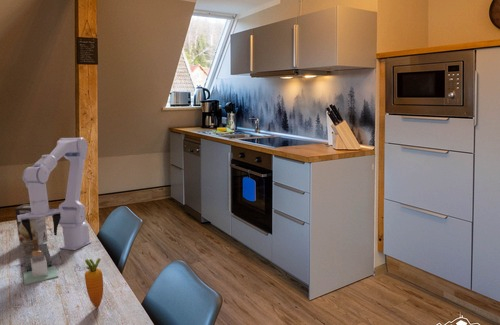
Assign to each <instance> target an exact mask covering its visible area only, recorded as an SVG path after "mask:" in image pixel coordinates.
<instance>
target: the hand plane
mask: <svg viewBox="0 0 500 325" xmlns="http://www.w3.org/2000/svg"><path fill="white" fill-rule="evenodd" d="M32 241H33V246H25V247H23V252H24V260H25V269H26V272H29V271H32V266H31V259H32V256H37V255H42V254H43V255H44V256H45V258H46V261H47V267H52V266H53V265H52V264H53V263H52V258H51V254H50V250H49V248H48V247H49V246H48V243H46V242H44V243H43V244H40V245H38V241H37V236H36V237H33V240H32Z"/></svg>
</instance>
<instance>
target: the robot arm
mask: <svg viewBox="0 0 500 325" xmlns="http://www.w3.org/2000/svg"><path fill="white" fill-rule="evenodd" d="M88 147H89V145H88V142H87V140H86V138H85V137H83V136H81V137H61V138H59V140H57V141H56V146H55V147H54V148H53V150H52V151H51V152H50V153H49V154H42V155H41V158H39V159H38V160H37V161H36V162H35V163H34V164H33V165H32V166H28V167H26V168H25V169H24V170H23V173H22V176H21V179H22V181H23V182H24V184H25V187H26V189H27V191H28V199H29V204H30V206H31V212H30V213H26V214H22V215H17V218H18V222H21V221H22V225H23V226H24V227H25V229H26V230H27V232H28V234H29V236H30V239H31V240H33V236H32V232H31V226H30V219H36V218H42V217H45V218H46V217H52V224H53V235H54V236H58V227H59V226H60V227H61V228H62V236H63V245H61V246H59V249H61V250H69V251H76V250H79V249H81V248H83V247H84V246H86V245H89V244H90V243H92V240H91V239H90V231H89V227H88V226H89V225H88V224H87V223H86V222H85V220H86V217H87V216H86V206H85V205H84V204H83V203H82V202H81V201H80V200H81V192H82V191H81V190H82V184H83V176H84V167H85V161H86V159H87V156H88V149H89V148H88ZM62 158H65V159H66V160H68V162H69V164H70V165H69V170H68V179H67V183H66V184H67V186H66V192H65V198H64V199H65V200H64V201H63V202H61V203H60V204H59V205H58V208H50V206H49V198H48V190H47V184H46V183H47V182H48V180H49V177H50V174H51V173H52V171H53V170H54V169H55V168H56V167H57V166H58V161H59V160H60V159H62Z"/></svg>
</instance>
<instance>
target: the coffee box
mask: <svg viewBox="0 0 500 325" xmlns="http://www.w3.org/2000/svg"><path fill="white" fill-rule="evenodd" d="M14 212H15V219H16V227H17V237H18V243H19V246H28V247H30V246H33V241H32V240H31V239H30V236H29V234H28V232H27V230H26V229H25V227H24V226H23V225H22V221H21V222H18V218H17V215H22V214H26V213H30V212H31V206H30V203H24V204H21V205H19V206H17V207H15V208H14ZM30 226H31V232H32V236H33V237H36V236H37V241H38V245H40V244H45V243H46V242H47V241H48V239H49V238H48V233H47V231H48V230H47V223H46V217H42V218H36V219H30Z"/></svg>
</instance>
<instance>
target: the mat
mask: <svg viewBox="0 0 500 325" xmlns="http://www.w3.org/2000/svg"><path fill="white" fill-rule="evenodd" d="M47 269H48V276H44V277H40V278H35V279H33V273H32V271H29V272H27V271H25V272H23V273H22V274H23V283H24V284H23V285H24V286H26V285H30V284H35V283H38V282H43V281H48V280H52V279H55V278H59V275H58V270H57V267H56V265H52V267H47Z"/></svg>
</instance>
